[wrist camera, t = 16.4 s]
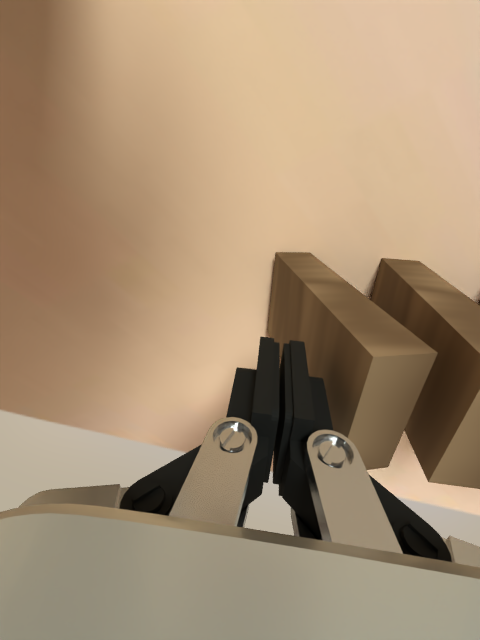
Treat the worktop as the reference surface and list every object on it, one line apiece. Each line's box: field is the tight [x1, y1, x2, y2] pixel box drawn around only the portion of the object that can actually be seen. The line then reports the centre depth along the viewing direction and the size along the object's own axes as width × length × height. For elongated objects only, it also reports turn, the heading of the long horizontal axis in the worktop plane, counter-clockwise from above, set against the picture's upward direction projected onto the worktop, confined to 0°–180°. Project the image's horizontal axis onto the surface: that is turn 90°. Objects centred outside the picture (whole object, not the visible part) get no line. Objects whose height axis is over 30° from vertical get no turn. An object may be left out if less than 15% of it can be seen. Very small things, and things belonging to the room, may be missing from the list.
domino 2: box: [370, 258, 480, 489], centre depth 14 cm, size 2×5×10 cm, turn 178°
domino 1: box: [267, 252, 438, 470], centre depth 14 cm, size 2×5×10 cm, turn 177°
